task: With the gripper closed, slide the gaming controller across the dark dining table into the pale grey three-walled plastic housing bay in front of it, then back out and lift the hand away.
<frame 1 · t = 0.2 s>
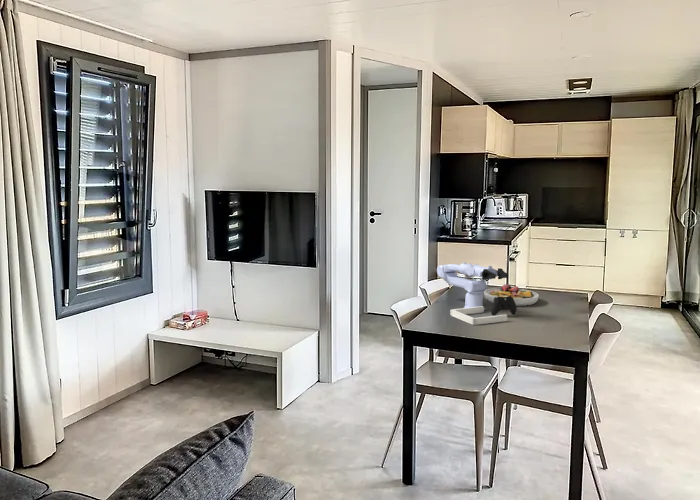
hand: (501, 276, 278), 21 cm above the table, tool horizontal, fingers open, 7 cm apart
housing: (481, 317, 280), on the table
gaming controller: (503, 315, 286), on the table
bowl: (510, 301, 318), on the table
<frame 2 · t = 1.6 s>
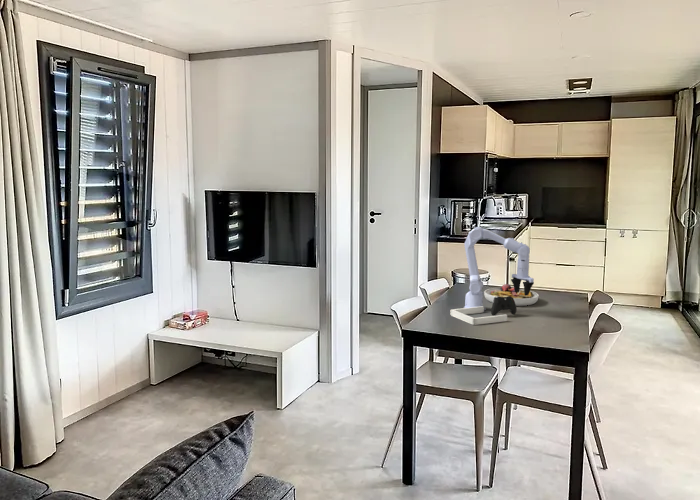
hand: (521, 293, 289), 10 cm above the table, tool pointing down, fingers open, 7 cm apart
nothing on the table moved.
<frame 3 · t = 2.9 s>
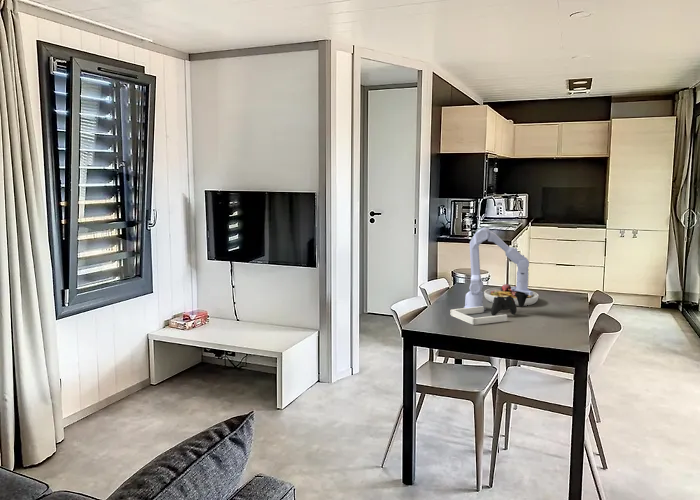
hand: (521, 306, 290), 4 cm above the table, tool pointing down, fingers closed
nothing on the table moved.
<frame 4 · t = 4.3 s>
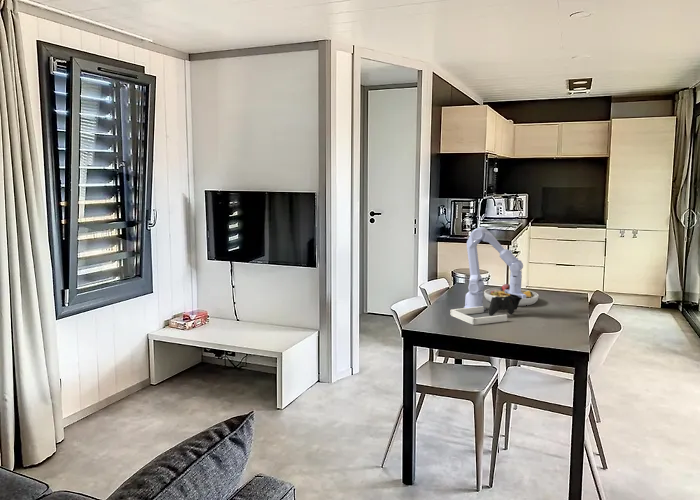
hand: (514, 309, 288), 2 cm above the table, tool pointing down, fingers closed
gaming controller: (501, 315, 285), on the table, touching gripper
everything else where it was.
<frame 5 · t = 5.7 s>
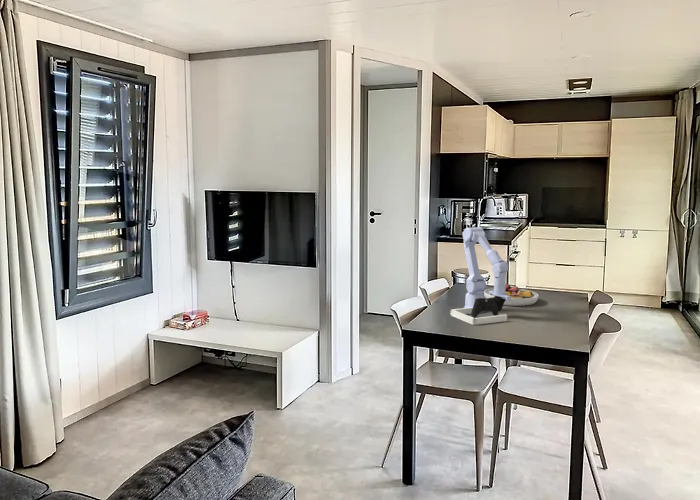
hand: (498, 311, 284), 2 cm above the table, tool pointing down, fingers closed
gaming controller: (484, 317, 282), on the table, touching gripper
everything else where it was.
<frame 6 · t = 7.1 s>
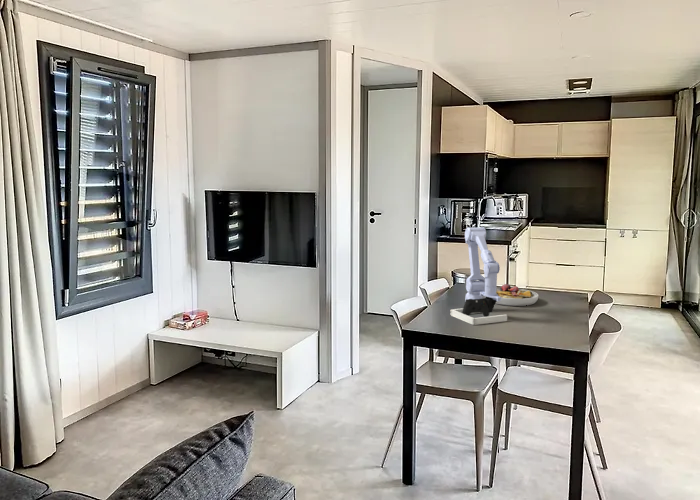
hand: (489, 312, 282), 2 cm above the table, tool pointing down, fingers closed
gaming controller: (475, 318, 280), on the table, touching gripper
everything else where it was.
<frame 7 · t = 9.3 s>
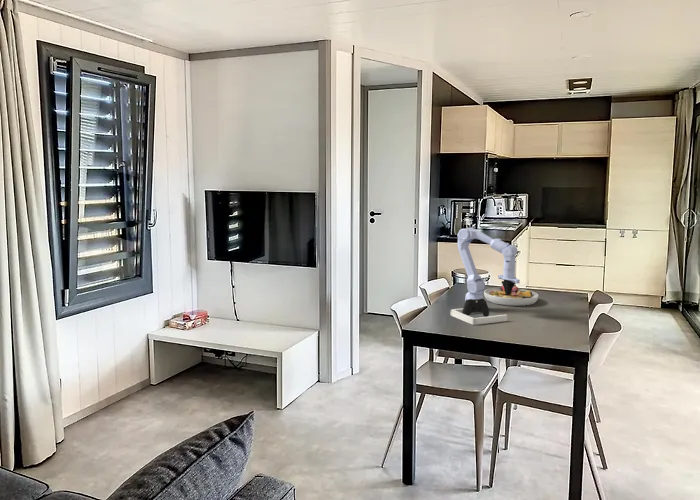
hand: (507, 294, 285), 10 cm above the table, tool pointing down, fingers closed
gaming controller: (475, 318, 280), on the table
everything else where it was.
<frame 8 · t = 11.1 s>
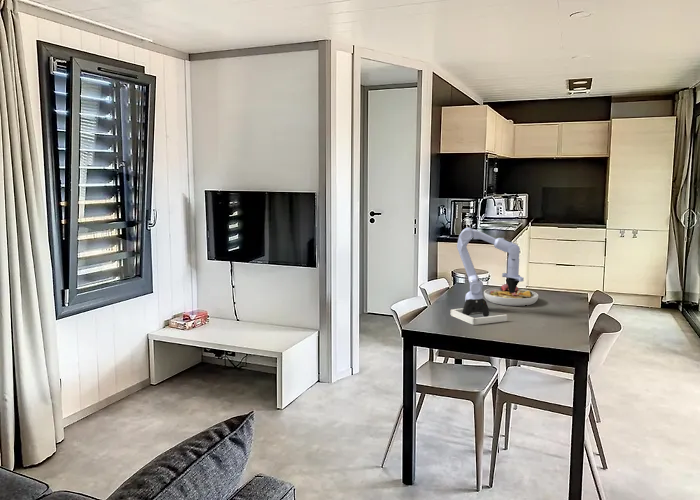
hand: (512, 292, 291), 10 cm above the table, tool pointing down, fingers closed
nothing on the table moved.
at the end: gaming controller inside the target area on the housing (2.3 cm from its centre), point 0.0 cm above the housing's base; gaming controller tilted 0°; gaming controller moved 17.2 cm from its start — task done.
